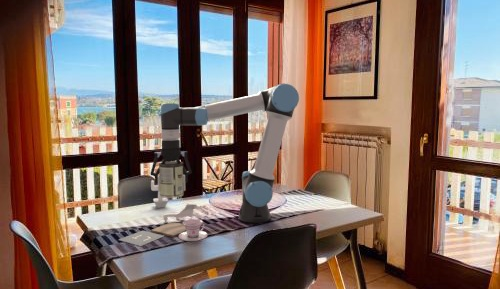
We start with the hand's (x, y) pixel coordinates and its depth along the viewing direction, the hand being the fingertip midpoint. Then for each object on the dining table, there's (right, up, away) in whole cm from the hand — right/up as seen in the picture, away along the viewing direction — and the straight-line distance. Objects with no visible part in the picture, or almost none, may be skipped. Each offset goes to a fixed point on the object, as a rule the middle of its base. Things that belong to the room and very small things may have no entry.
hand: (171, 190), depth 160 cm
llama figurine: (+4, -16, +16) cm, 23 cm away
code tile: (-11, -19, -8) cm, 23 cm away
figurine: (-14, -14, +40) cm, 44 cm away
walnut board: (0, -17, +2) cm, 18 cm away
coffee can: (0, -2, 0) cm, 2 cm away
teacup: (+10, -19, -6) cm, 22 cm away
